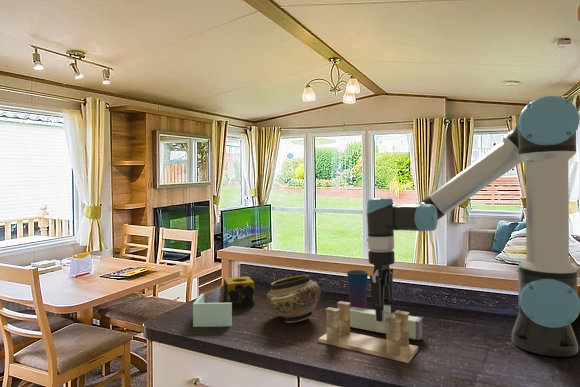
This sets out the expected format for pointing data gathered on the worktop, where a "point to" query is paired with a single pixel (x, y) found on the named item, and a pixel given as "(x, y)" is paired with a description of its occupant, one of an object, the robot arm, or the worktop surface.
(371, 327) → the rail
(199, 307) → the l-shaped corner panel
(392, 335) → the bar on post stand
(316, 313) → the worktop surface
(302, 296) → the ceramic bowl
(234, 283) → the yellow patterned cube
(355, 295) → the cup
